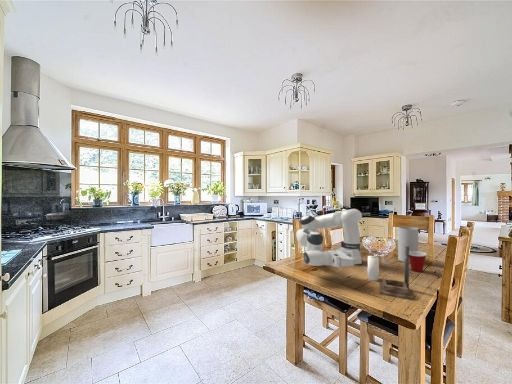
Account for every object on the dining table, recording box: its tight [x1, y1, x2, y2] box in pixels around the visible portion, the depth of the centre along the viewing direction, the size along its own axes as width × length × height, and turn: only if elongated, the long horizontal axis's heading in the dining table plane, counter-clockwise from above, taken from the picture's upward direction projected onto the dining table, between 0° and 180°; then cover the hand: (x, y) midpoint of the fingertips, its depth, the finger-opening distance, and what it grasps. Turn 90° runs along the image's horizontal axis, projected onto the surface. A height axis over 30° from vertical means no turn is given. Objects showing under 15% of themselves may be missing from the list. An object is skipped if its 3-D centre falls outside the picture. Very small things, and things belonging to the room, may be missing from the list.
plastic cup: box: [409, 250, 428, 273], centre depth 151 cm, size 11×11×12 cm
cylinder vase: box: [397, 226, 419, 264], centre depth 172 cm, size 12×12×25 cm
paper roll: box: [367, 255, 380, 282], centre depth 138 cm, size 6×6×13 cm
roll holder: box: [378, 246, 414, 301], centre depth 121 cm, size 14×14×23 cm
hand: (354, 257), depth 137 cm, fingers open, 8 cm apart
